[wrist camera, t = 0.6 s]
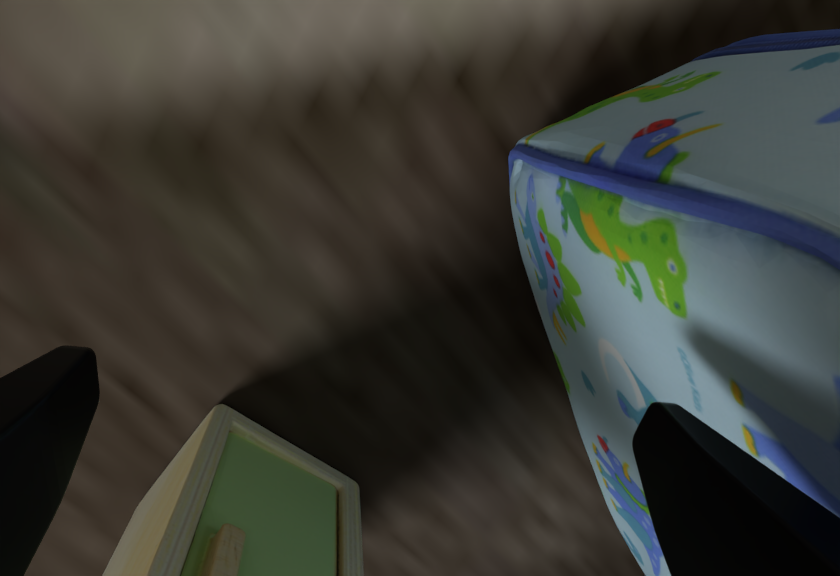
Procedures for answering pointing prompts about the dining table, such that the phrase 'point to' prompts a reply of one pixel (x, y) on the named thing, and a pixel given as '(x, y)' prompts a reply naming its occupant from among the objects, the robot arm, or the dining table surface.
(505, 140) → the dining table surface
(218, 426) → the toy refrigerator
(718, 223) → the lunch box
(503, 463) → the dining table surface
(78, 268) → the dining table surface
